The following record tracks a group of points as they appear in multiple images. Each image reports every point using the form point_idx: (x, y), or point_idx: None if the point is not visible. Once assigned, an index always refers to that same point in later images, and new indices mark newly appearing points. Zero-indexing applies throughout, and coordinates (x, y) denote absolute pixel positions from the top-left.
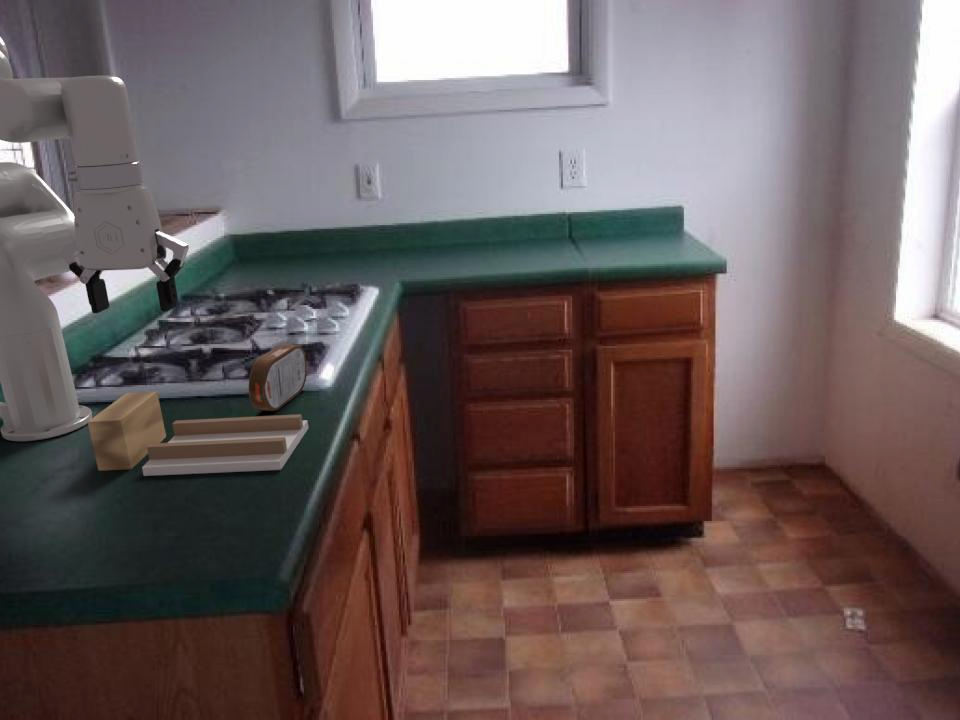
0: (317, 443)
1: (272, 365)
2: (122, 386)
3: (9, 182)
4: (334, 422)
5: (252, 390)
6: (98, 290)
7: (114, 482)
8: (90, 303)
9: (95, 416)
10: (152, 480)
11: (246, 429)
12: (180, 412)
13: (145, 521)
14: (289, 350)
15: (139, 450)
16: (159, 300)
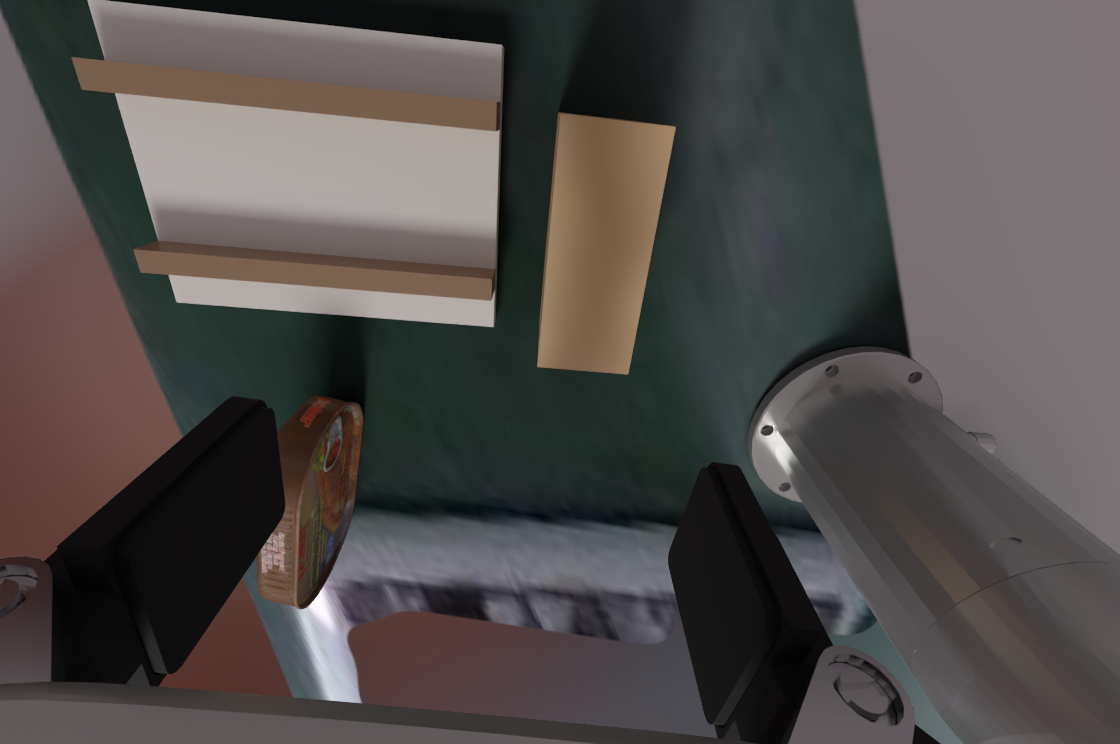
0: (109, 188)
1: None
2: None
3: None
4: (141, 319)
5: (326, 415)
6: (724, 610)
7: (573, 17)
8: (758, 505)
9: (663, 176)
10: (467, 7)
11: (301, 254)
12: (556, 447)
13: None
14: (257, 562)
15: (552, 179)
16: (226, 443)
